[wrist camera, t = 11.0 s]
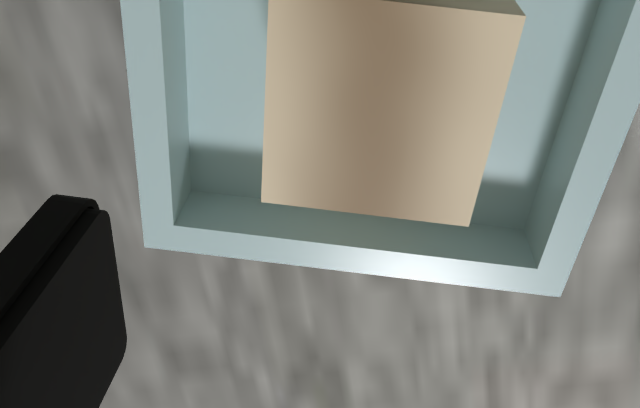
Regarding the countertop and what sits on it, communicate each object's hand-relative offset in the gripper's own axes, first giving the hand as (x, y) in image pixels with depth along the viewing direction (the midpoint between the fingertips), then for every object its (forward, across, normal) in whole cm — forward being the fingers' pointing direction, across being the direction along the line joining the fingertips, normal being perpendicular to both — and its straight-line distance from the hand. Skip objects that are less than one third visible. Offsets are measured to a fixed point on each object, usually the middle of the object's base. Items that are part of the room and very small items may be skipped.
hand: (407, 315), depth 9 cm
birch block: (+14, +1, 0) cm, 14 cm away
